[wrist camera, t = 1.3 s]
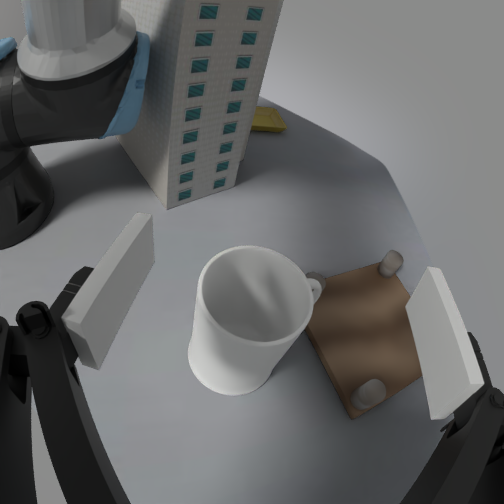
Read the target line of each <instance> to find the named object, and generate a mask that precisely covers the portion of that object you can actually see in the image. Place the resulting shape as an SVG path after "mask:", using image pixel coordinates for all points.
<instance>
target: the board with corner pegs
mask: <svg viewBox="0 0 504 504" xmlns="http://www.w3.org/2000/svg"><path fill="white" fill-rule="evenodd" d="M402 264H403V257H402V256H401V254H400V253H398V252H397V251H394V250H390V251H389V252H388V253H387V255H386V256H385V257H384V259H383V260H382V261H381V262H379V263H376V264H373V265H369V266H366V267H363V268H359V269H356V270H353V271H349V272H346V273H342V274H339V275H335V276H332V277H328V278H325V279H324V278H323V276H322V275H320V274H318V273H316V272H310V273H308V274H306V278H312V279H315V280H317V281H318V282H319V283H320V285H321V288H322V291H321V295H320V297H319V298H318V300H317V301H316V302H315V304H314V306H313V312H312V316H311V318H310V321H309V322H308V324H307V326H306V327H305V331H306V332H307V334H308V336H309V338H310V340H311V342H312V344H313V346H314V348H315V350H316V352H317V354H318V356H319V358H320V360H321V361H322V363H323V365H324V367H325V369H326V371H327V373H328V375H329V377H330V379H331V381H332V383H333V385H334V387H335V389H336V391H337V393H338V395H339V397H340V399H341V400H342V402H343V404H344V406H345V408H346V410H347V412H348V414H349V416H350V418H351V419H354V418H356V417H358V416H359V415H361V414H363V413H365V412H366V411H368V410H370V409H371V408H373V407H375V406H376V405H378V404H380V403H381V402H383V401H385V400H386V399H388V398H389V397H391V396H393V395H394V394H396V393H397V392H399V391H400V390H402V389H403V388H405V387H406V386H408V385H409V384H411V383H412V382H414V381H415V380H417V379H418V378H420V377H421V376H422V370H421V366H420V361H419V357H418V353H417V349H416V345H415V341H414V337H413V333H412V329H411V325H410V322H409V318H408V314H407V311H406V307H405V306H406V304H407V303H408V301H409V299H410V298H411V297H410V295H409V294H408V292H407V291H406V289H405V288H404V286H403V285H402V283H401V282H400V280H399V279H398V277H397V276H396V274H395V272H396V271H397V270H398V268H399V267H400V266H401V265H402ZM313 291H314V289H312V292H313Z"/></svg>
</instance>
